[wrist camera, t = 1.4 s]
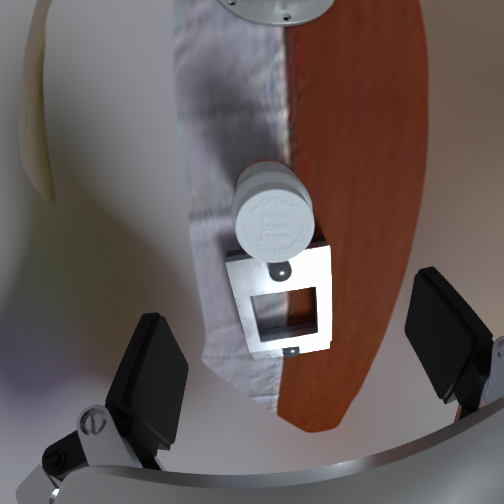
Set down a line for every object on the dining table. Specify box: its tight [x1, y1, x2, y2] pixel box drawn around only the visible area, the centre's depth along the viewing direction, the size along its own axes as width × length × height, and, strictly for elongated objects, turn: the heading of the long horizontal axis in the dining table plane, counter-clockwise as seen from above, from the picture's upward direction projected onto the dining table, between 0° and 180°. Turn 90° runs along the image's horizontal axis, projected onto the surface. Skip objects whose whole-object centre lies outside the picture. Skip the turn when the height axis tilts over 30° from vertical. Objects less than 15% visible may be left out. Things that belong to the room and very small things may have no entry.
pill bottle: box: [231, 159, 315, 263], centre depth 22 cm, size 6×6×11 cm
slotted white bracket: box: [225, 237, 332, 360], centre depth 32 cm, size 17×11×3 cm, turn 10°
